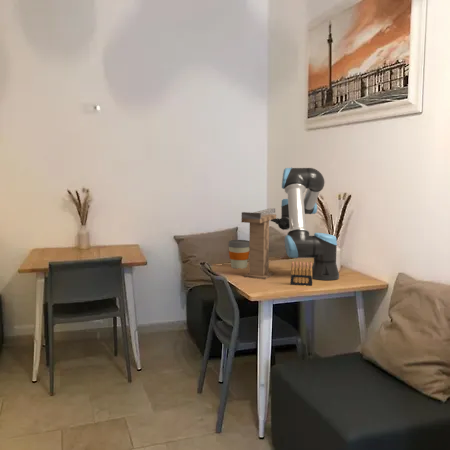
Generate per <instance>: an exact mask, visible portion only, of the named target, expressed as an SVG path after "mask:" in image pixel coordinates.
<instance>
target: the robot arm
mask: <svg viewBox="0 0 450 450" xmlns="http://www.w3.org/2000/svg"><path fill="white" fill-rule="evenodd" d="M325 183H326V181H325V178H324V176H323V174H322V173H321V172H320V171H319V170H318V169H315V168H313V167H285V168H284V169H283V172H282V180H281V189H283V190H284V192H285V194H287V198H283V199H282V200H281V206H280V207H281V209H280V210H281V216H280V218H277V217H276V218H275V219H272V220H269V222H273V223H275V224H276V225H278V228H279V229H281V230H282V231H284V230H286V231H287V230H289V231H288V232H287V234H286V235H285V236H284V247H285V252H286V255H287V256H288V257H289V258H293V259H294V258H295V259H298V258H299V259H301V258H302V259H303V258H305V259H310V258H311V259H313V263H312V280H313V279H314V280H319V281H334V280H338V279H340V273H339V270H338V265H337V250H338V249H337V247H338V241H337V236H335V235H332V234H329V233H326V232H325V233H322V232H314V234H313V235H310V232H309V230H307V225H306V215H315V214H317V212H318V205H317V201H318V198H319V195H320V193H321V191H322V190H323V189H324V187H325ZM304 193H305V194H304Z"/></svg>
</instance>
